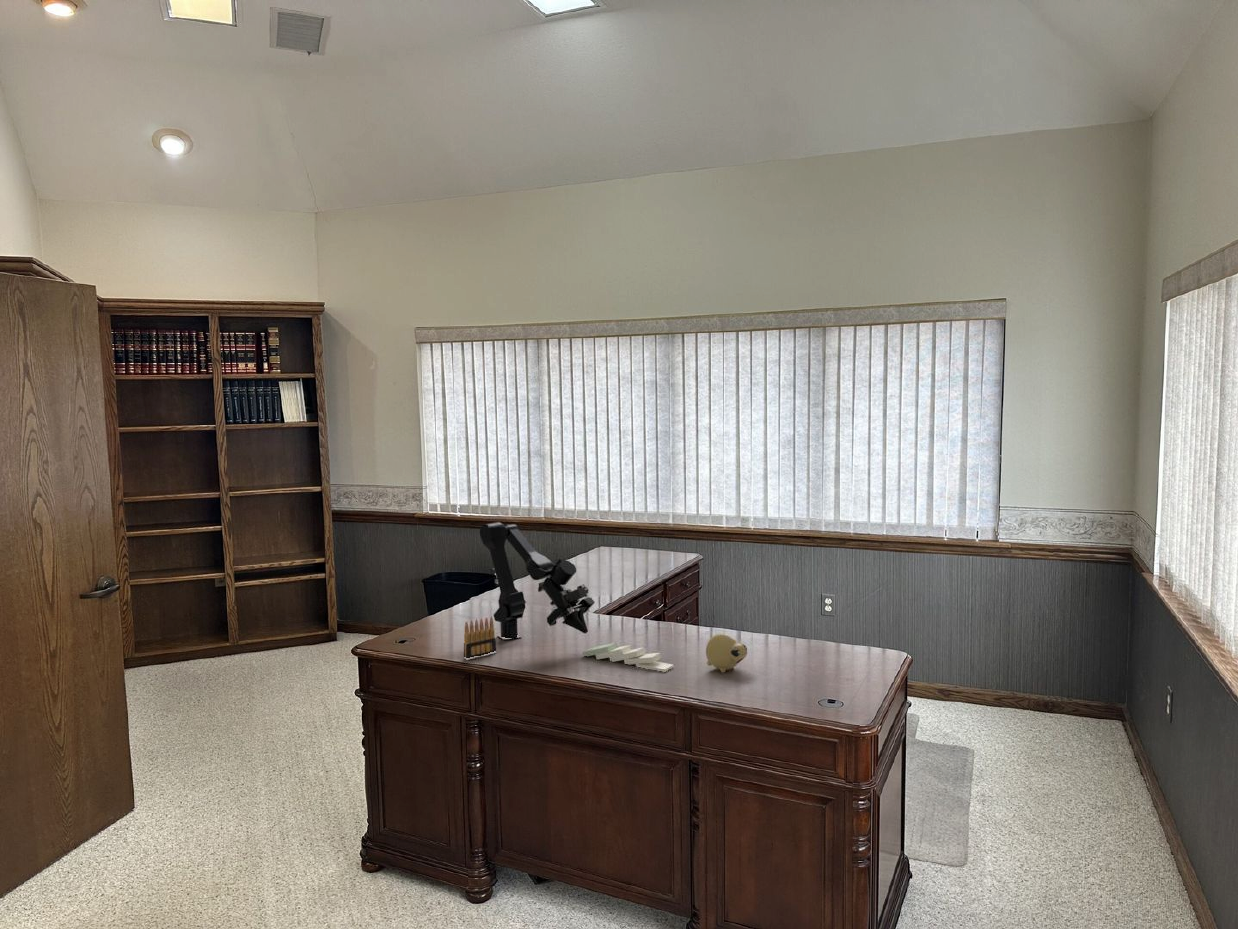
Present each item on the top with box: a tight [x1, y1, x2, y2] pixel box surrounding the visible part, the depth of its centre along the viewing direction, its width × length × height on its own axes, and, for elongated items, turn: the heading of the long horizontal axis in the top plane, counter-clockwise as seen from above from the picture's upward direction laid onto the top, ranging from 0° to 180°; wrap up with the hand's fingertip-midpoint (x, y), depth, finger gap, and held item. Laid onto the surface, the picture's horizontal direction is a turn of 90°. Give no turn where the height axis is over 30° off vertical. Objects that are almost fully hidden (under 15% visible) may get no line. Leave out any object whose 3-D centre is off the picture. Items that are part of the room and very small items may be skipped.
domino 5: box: [635, 661, 675, 673], centre depth 257 cm, size 2×5×10 cm
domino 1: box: [582, 642, 618, 657], centre depth 267 cm, size 2×5×10 cm
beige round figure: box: [705, 633, 748, 674], centre depth 252 cm, size 10×12×11 cm
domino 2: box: [595, 644, 633, 660], centre depth 265 cm, size 2×5×10 cm
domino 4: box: [623, 652, 662, 665], centre depth 259 cm, size 2×5×10 cm
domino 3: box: [608, 646, 647, 663], centre depth 262 cm, size 2×5×10 cm
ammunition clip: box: [463, 615, 497, 658], centre depth 271 cm, size 11×2×12 cm, turn 128°
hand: (586, 632), depth 270 cm, fingers closed
